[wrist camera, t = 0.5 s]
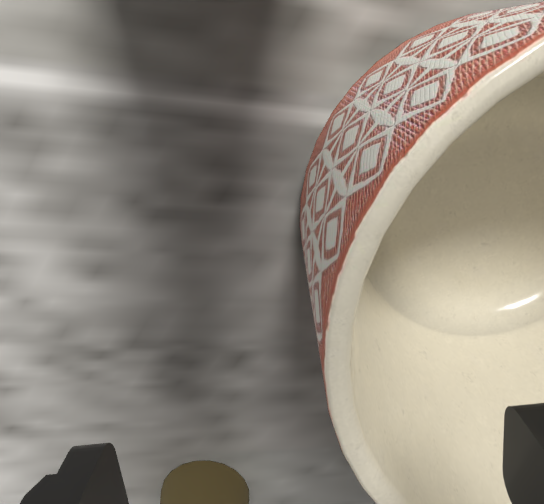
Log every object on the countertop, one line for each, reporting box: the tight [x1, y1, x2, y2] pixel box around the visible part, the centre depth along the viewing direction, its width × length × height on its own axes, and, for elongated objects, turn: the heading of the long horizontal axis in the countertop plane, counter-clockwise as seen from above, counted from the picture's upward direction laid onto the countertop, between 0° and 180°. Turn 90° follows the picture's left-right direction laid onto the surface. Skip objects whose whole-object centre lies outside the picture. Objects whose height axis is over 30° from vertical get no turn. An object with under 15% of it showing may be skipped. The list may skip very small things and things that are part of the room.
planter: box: [300, 2, 544, 504], centre depth 21 cm, size 19×19×15 cm
